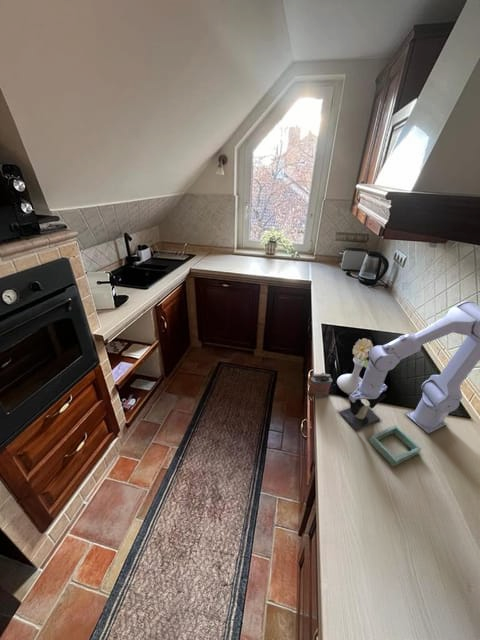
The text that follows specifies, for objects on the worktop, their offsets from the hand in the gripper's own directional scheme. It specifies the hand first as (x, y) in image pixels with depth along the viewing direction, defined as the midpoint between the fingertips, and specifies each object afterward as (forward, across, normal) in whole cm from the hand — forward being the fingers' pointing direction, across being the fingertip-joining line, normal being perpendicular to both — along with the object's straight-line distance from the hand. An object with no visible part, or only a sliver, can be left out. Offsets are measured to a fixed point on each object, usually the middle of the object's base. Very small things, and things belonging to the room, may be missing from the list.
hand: (361, 409), depth 87 cm
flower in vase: (+4, -7, -11) cm, 14 cm away
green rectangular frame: (+3, -1, +13) cm, 13 cm away
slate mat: (+3, 0, 0) cm, 3 cm away
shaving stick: (+3, 0, 0) cm, 3 cm away
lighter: (+3, +7, -14) cm, 16 cm away
